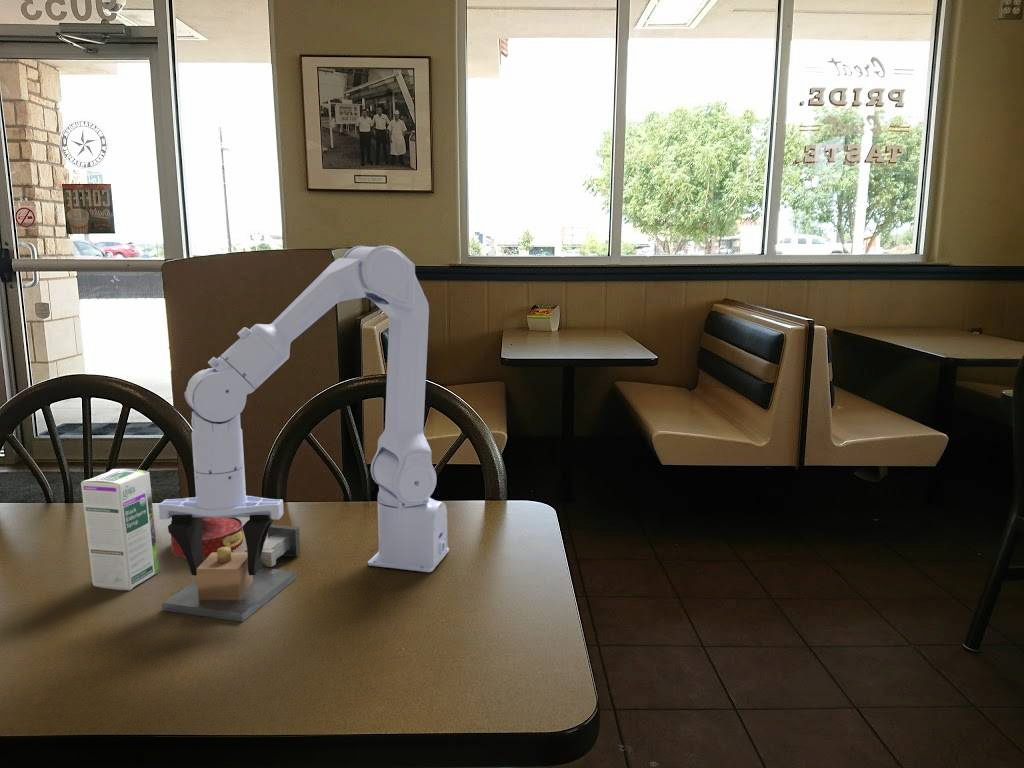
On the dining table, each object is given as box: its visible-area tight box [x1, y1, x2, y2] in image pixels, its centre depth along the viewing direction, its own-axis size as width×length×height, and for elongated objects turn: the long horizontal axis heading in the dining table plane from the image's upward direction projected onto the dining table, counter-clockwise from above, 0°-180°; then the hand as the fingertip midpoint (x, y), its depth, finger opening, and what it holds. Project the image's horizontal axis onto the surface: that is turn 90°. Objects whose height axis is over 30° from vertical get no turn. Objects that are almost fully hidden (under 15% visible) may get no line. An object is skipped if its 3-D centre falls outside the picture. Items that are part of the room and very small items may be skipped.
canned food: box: [170, 517, 244, 559], centre depth 108 cm, size 11×10×10 cm
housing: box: [196, 547, 253, 600], centre depth 92 cm, size 5×5×6 cm
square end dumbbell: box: [244, 523, 301, 568], centre depth 102 cm, size 4×7×4 cm, turn 166°
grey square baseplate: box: [161, 567, 297, 623], centre depth 93 cm, size 11×12×1 cm
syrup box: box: [80, 468, 160, 591], centre depth 96 cm, size 6×6×14 cm
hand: (225, 571), depth 92 cm, fingers open, 6 cm apart
